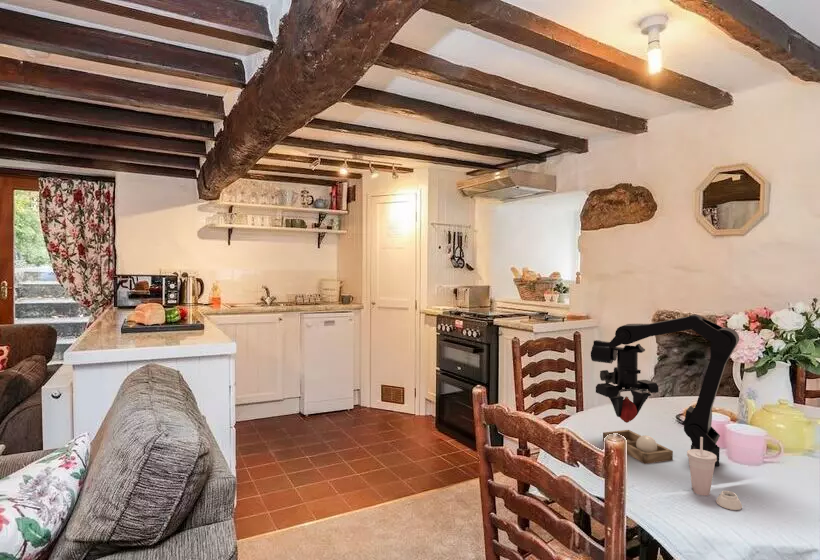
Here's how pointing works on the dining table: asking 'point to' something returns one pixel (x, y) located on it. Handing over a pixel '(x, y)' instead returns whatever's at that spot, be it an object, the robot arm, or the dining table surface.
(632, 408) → the onion
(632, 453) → the egg tray
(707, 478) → the smoothie
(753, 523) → the dining table surface
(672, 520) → the dining table surface
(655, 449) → the cream egg
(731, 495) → the beige round hollow piece
